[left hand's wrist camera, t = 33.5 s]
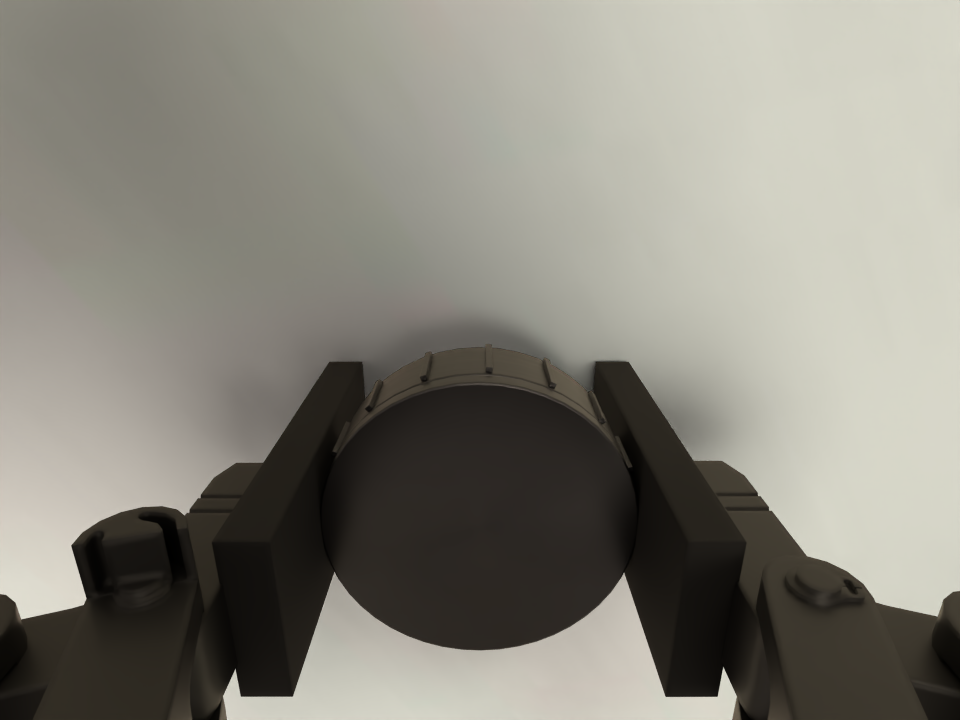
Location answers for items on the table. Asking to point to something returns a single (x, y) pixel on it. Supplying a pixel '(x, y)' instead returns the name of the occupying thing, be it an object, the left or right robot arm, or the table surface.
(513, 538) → the lid
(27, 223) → the table surface
